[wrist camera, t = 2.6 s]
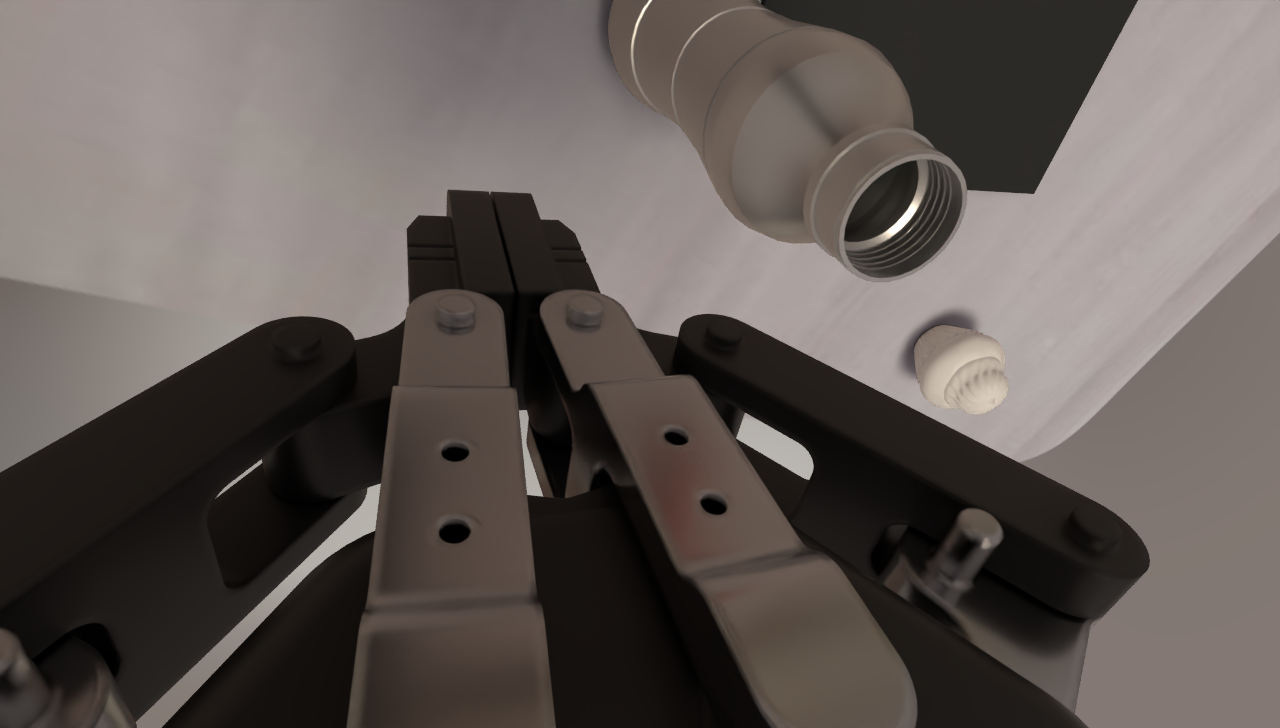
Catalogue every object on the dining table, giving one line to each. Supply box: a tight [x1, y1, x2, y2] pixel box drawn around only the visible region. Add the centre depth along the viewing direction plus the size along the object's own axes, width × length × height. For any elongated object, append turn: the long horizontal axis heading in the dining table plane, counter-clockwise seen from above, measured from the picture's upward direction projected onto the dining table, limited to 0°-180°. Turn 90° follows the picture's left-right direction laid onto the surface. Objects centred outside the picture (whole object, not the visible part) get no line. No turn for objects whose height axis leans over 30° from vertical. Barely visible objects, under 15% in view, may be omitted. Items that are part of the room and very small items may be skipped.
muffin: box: [914, 325, 1009, 414], centre depth 49 cm, size 6×6×7 cm
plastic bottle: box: [608, 0, 967, 282], centre depth 25 cm, size 6×7×20 cm
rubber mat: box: [761, 0, 1138, 194], centre depth 37 cm, size 14×22×1 cm, turn 81°
